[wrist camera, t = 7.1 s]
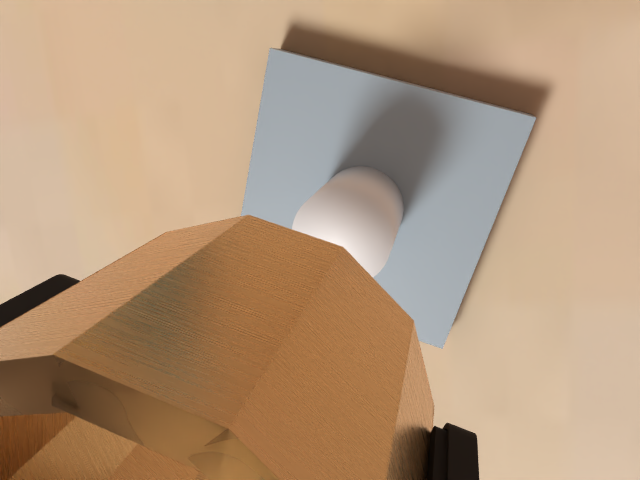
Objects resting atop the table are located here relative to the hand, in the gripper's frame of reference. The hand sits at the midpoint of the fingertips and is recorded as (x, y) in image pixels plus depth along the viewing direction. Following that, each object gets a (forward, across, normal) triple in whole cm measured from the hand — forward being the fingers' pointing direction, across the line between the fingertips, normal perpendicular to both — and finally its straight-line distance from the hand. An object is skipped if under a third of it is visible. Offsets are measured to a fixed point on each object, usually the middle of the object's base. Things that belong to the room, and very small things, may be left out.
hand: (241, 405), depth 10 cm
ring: (+1, 0, 0) cm, 1 cm away
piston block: (+18, 0, +1) cm, 18 cm away
